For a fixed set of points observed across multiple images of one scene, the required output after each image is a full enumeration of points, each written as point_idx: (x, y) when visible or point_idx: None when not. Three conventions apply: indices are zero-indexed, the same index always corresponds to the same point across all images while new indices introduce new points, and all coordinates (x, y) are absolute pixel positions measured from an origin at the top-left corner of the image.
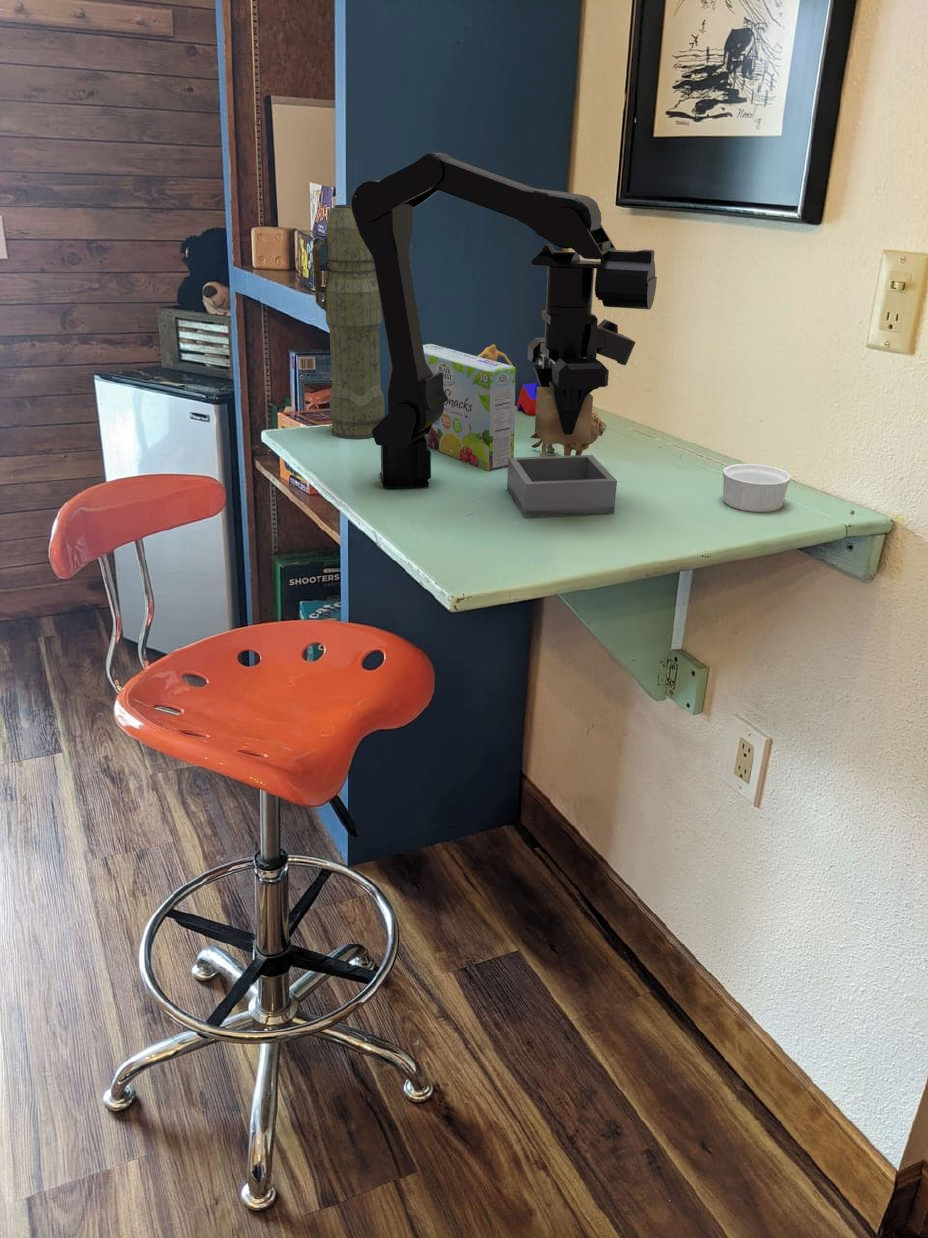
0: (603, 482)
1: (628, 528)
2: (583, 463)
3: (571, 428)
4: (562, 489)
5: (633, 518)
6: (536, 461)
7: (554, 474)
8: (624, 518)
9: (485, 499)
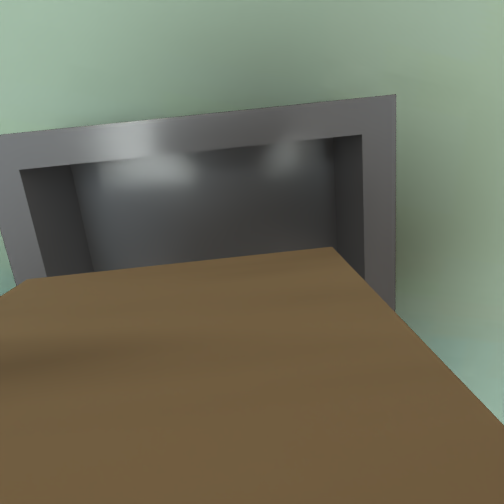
0: (394, 158)
1: (485, 89)
2: (38, 183)
3: None
4: None
5: (398, 49)
6: None
7: None
8: (395, 82)
9: None
